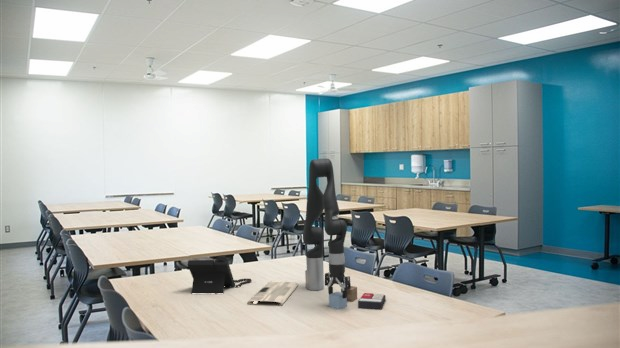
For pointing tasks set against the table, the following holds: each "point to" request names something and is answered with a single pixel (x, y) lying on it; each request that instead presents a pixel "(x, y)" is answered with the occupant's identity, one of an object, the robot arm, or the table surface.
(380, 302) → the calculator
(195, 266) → the office phone
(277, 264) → the table surface
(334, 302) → the slate block
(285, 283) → the newspaper
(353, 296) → the walnut block
